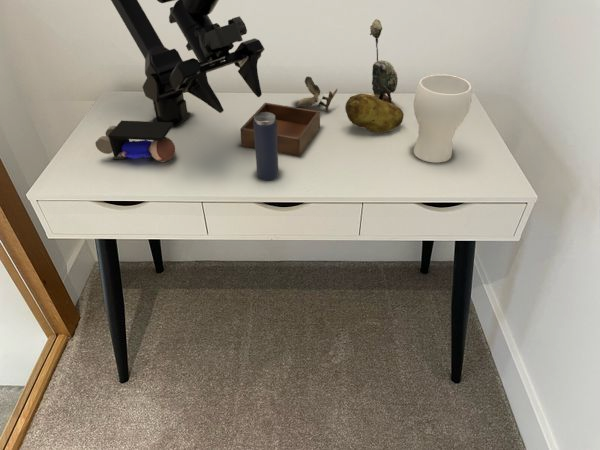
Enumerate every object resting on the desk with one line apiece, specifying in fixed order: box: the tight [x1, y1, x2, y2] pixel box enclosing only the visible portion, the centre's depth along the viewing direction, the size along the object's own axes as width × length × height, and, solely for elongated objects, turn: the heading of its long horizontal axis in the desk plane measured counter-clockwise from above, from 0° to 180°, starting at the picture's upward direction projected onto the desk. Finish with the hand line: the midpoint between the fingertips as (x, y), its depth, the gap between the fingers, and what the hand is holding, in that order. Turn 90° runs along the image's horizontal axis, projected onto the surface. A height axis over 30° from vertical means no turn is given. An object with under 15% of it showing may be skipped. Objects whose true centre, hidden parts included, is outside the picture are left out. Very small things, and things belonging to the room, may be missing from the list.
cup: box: [413, 73, 473, 164], centre depth 100 cm, size 11×11×15 cm
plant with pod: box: [369, 18, 398, 107], centre depth 114 cm, size 8×11×20 cm
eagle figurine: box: [294, 76, 339, 113], centre depth 119 cm, size 8×7×9 cm
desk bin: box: [239, 102, 321, 157], centre depth 109 cm, size 13×13×4 cm
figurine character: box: [95, 120, 176, 163], centre depth 101 cm, size 7×8×15 cm
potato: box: [344, 93, 405, 133], centre depth 110 cm, size 8×13×8 cm, turn 82°
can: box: [253, 112, 280, 182], centre depth 94 cm, size 4×4×12 cm
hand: (241, 103), depth 94 cm, fingers open, 9 cm apart
